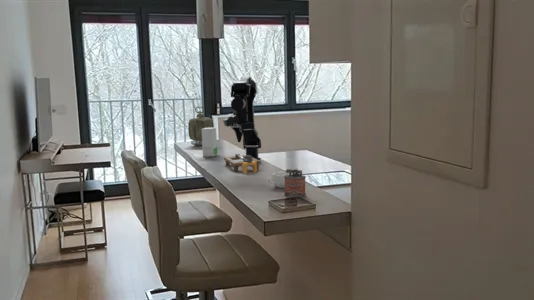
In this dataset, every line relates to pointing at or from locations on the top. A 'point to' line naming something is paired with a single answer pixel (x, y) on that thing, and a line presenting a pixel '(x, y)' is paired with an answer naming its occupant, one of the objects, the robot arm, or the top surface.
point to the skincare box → (209, 142)
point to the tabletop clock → (199, 126)
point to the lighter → (294, 183)
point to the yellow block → (249, 162)
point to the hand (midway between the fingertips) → (242, 143)
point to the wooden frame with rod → (231, 161)
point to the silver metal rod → (241, 157)
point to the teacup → (278, 179)
